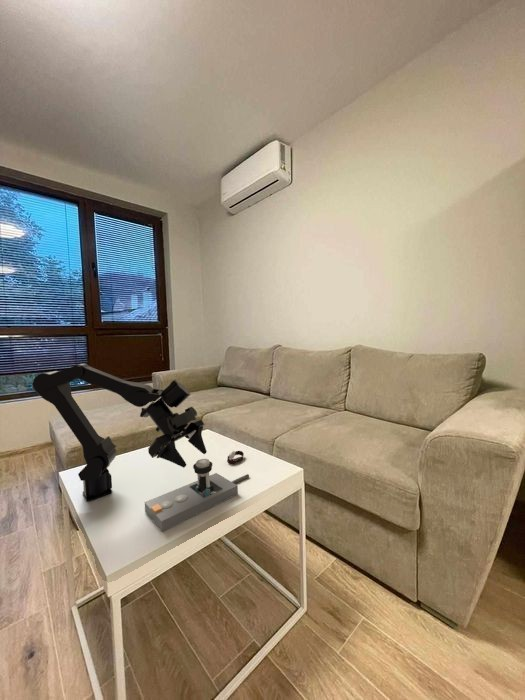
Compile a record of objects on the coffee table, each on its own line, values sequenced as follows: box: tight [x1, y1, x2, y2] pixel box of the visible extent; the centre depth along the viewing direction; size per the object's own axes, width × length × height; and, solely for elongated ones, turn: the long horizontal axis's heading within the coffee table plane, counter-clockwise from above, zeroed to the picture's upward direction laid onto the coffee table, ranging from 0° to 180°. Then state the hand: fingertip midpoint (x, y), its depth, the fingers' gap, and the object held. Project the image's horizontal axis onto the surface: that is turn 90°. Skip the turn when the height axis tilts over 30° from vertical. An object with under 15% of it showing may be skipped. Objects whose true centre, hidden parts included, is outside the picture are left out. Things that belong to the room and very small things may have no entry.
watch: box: [226, 450, 244, 465], centre depth 103 cm, size 8×5×4 cm, turn 148°
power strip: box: [144, 472, 250, 533], centre depth 80 cm, size 30×11×3 cm, turn 132°
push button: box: [192, 458, 216, 498], centre depth 79 cm, size 7×5×10 cm
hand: (196, 459), depth 81 cm, fingers open, 9 cm apart
